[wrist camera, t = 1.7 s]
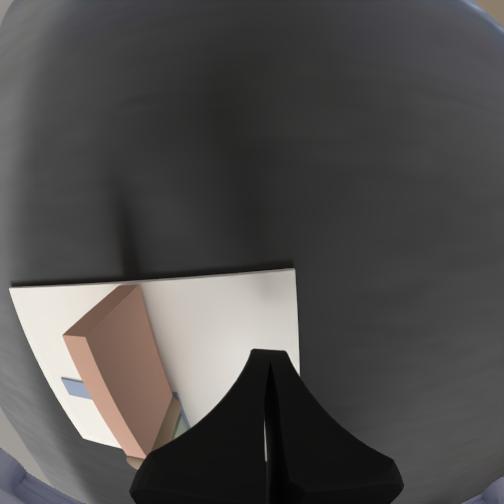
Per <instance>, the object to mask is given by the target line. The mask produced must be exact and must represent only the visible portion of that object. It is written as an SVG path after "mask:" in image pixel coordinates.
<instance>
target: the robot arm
mask: <svg viewBox="0 0 504 504" xmlns="http://www.w3.org/2000/svg"><path fill="white" fill-rule="evenodd" d="M264 421H265V434H264ZM265 435H266V449H267V470H266V463H265ZM403 487H404V484H403V481H402V477H401V475H400V472H399V470H398V468H397V466H396V464H395V462H394V460H393V459H391V458H389V457H387V456H385V455H383V454H382V453H380V452H378V451H376V450H374V449H372V448H370V447H369V446H367V445H366V444H364V443H363V442H361V441H360V440H358V439H357V438H355V437H354V436H353V435H351V434H350V433H349V432H348V431H346V430H345V429H344V428H343V427H342V426H340V425H339V424H338V423H337V422H336V421H335V420H334V419H333V418H332V417H331V416H330V415H329V414H328V413H327V412H326V411H325V410H324V409H323V408H322V406H321V405H320V404H319V403H318V402H317V401H316V399H315V398H314V397H313V395H312V394H311V393H310V391H309V390H308V388H307V387H306V386H305V384H304V382H303V381H302V379H301V378H300V376H299V375H298V373H297V371H296V369H295V368H294V366H293V364H292V362H291V360H290V358H289V355H288V353H287V352H286V351H285V350H269V349H255V348H254V349H252V350H251V351H250V355H249V358H248V360H247V362H246V364H245V366H244V368H243V370H242V372H241V373H240V375H239V376H238V378H237V380H236V381H235V383H234V384H233V385H232V387H231V388H230V389H229V391H228V392H227V393H226V395H225V396H224V397H223V398H222V399H221V400H220V402H219V403H218V404H217V405H216V406H215V407H214V408H213V409H212V410H211V411H210V412H209V413H208V414H207V415H206V416H204V417H203V418H202V419H201V420H200V421H199V422H198V423H196V424H195V425H194V426H193V427H191V428H190V429H188V430H187V431H186V432H184V433H183V434H181V435H180V436H178V437H177V438H175V439H174V440H172V441H170V442H169V443H167V444H165V445H163V446H161V447H159V448H157V449H155V450H154V451H152V452H150V453H149V454H148V455H147V457H146V458H145V459H144V461H143V462H142V464H141V466H140V467H139V469H138V471H137V472H136V475H135V477H134V480H133V482H132V485H131V488H130V491H129V492H130V495H131V497H132V498H133V500H134V501H135V503H136V504H390V503H391V502H392V501H393V500H394V499H395V498H396V497H397V496H398V495H399V494H400V493H401V491H402V490H403ZM0 504H85V503H82V502H80V501H78V500H76V499H74V498H72V497H70V496H68V495H66V494H64V493H62V492H60V491H58V490H56V489H55V488H53V487H51V486H49V485H47V484H46V483H44V482H42V481H41V480H39V479H37V478H36V477H34V476H32V475H31V474H29V473H28V472H26V470H25V469H24V467H23V466H22V465H21V464H20V463H19V462H18V461H17V460H16V459H15V458H14V457H12V456H11V455H10V454H8V453H7V452H5V451H4V450H3V449H1V448H0ZM461 504H504V476H503V477H501V478H499V479H498V480H496V481H495V482H493V483H492V484H491V485H490V486H488V487H487V488H486V489H485V490H484V491H483V493H481V494H480V495H478V496H476V497H474V498H472V499H470V500H468V501H466V502H463V503H461Z"/></svg>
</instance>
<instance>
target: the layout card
mask: <svg viewBox="0 0 504 504" xmlns="http://www.w3.org/2000/svg"><path fill="white" fill-rule="evenodd" d="M137 284H139V287H140V291H141V295H142V299H143V302H144V306H145V310H146V314H147V317H148V321H149V324H150V328H151V331H152V335H153V338H154V341H155V344H156V348H157V351H158V354H159V357H160V360H161V363H162V366H163V369H164V372H165V375H166V378H167V381H168V383H169V386H170V389H171V392H172V394H173V397H174V398H176V399H177V400H178V401H179V402H180V404H181V411H180V414H179V415H182V417H183V419H184V422H185V424H186V427H187V429H190V428H191V427H193V426H194V425H195V424H196V423H198V422H199V421H200V420H201V419H202V418H203V417H204V416H206V415H207V414H208V413H209V412H210V411H211V410H212V409H213V408H214V407H215V406H216V405H217V404H218V403H219V402H220V400H221V399H222V398H223V397H224V396H225V395H226V393H227V392H228V391H229V389H230V388H231V387H232V385H233V384H234V383H235V381H236V380H237V378H238V376H239V375H240V373H241V372H242V370H243V368H244V366H245V364H246V362H247V360H248V358H249V355H250V351H251V350H252V349H254V348H255V349H269V350H285V351H286V352H287V353H288V355H289V358H290V360H291V362H292V364H293V366H294V368H295V369H296V371H297V373H298V375H299V376H300V367H299V337H298V315H297V296H296V279H295V268H288V269H277V270H266V271H254V272H243V273H231V274H218V275H206V276H193V277H179V278H165V279H151V280H136V281H120V282H103V283H85V284H66V285H45V286H21V287H10V288H9V290H10V293H11V297H12V300H13V303H14V305H15V308H16V311H17V314H18V317H19V319H20V322H21V324H22V327H23V329H24V332H25V334H26V337H27V339H28V341H29V344H30V346H31V348H32V350H33V353H34V355H35V357H36V359H37V361H38V363H39V365H40V367H41V369H42V371H43V373H44V375H45V377H46V379H47V381H48V383H49V384H50V386H51V388H52V390H53V392H54V393H55V395H56V397H57V399H58V400H59V402H60V404H61V405H62V407H63V409H64V410H65V412H66V413H67V415H68V416H69V418H70V420H71V421H72V423H73V424H74V426H75V427H76V429H77V430H78V431H79V433H80V434H81V436H82V437H83V438H84V439H88V440H91V441H95V442H98V443H102V444H106V445H110V446H114V447H119V448H122V447H121V446H120V444H119V443H118V442H117V440H116V438H115V437H114V435H113V434H112V432H111V431H110V429H109V428H108V426H107V424H106V423H105V421H104V419H103V418H102V416H101V414H100V413H99V411H98V409H97V407H96V406H95V404H94V402H93V400H92V398H91V396H90V395H89V393H88V391H87V389H86V387H85V385H84V383H83V381H82V379H81V377H80V375H79V373H78V371H77V369H76V367H75V364H74V362H73V360H72V358H71V356H70V353H69V351H68V349H67V346H66V344H65V341H64V339H63V337H62V335H63V334H64V333H65V332H66V331H67V330H68V329H69V328H70V327H71V326H73V325H74V324H75V323H76V322H77V321H78V320H79V319H80V318H82V317H83V316H84V315H85V314H86V313H87V312H88V311H89V310H91V309H92V308H93V307H94V306H95V305H96V304H98V303H99V302H100V301H101V300H102V299H103V298H105V297H106V296H107V295H108V294H109V293H110V292H112V291H113V290H114V289H115V288H116V287H118V286H119V285H137ZM264 434H265V421H264ZM265 461H267V449H266V435H265Z"/></svg>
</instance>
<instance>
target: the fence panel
mask: <svg viewBox="0 0 504 504" xmlns="http://www.w3.org/2000/svg"><path fill="white" fill-rule="evenodd" d="M62 337H63V339H64V341H65V344H66V346H67V349H68V351H69V353H70V356H71V358H72V360H73V362H74V364H75V367H76V369H77V371H78V373H79V375H80V377H81V379H82V381H83V383H84V385H85V387H86V389H87V391H88V393H89V395H90V396H91V398H92V400H93V402H94V404H95V406H96V407H97V409H98V411H99V413H100V414H101V416H102V418H103V419H104V421H105V423H106V424H107V426H108V428H109V429H110V431H111V432H112V434H113V435H114V437H115V438H116V440H117V442H118V443H119V444H120V446H121V447H122V449H123V450H124V452H125V453H126V455H128V456H127V462H128V463H129V464H130V465H131V466H132V467H134V468H135V469H137V470H138V469H139V467H140V466H141V464H142V462H143V461H144V459H145V458H146V457H147V455H148V454H149V453H150V452H152V451H154V450H155V449H157V448H159V447H161V446H163V445H165V444H167V443H169V442H170V440H171V437H172V434H173V431H174V428H175V425H176V422H177V420H178V417H179V414H180V411H181V404H180V402H179V401H178V400H177V399H176V398H174V397H173V394H172V392H171V389H170V386H169V383H168V381H167V378H166V375H165V372H164V369H163V366H162V363H161V360H160V357H159V354H158V351H157V348H156V344H155V341H154V338H153V335H152V331H151V328H150V324H149V321H148V317H147V314H146V310H145V306H144V302H143V299H142V295H141V291H140V287H139V284H137V285H119V286H118V287H116V288H115V289H114V290H113V291H112V292H110V293H109V294H108V295H107V296H106V297H105V298H103V299H102V300H101V301H100V302H99V303H98V304H96V305H95V306H94V307H93V308H92V309H91V310H89V311H88V312H87V313H86V314H85V315H84V316H83V317H82V318H80V319H79V320H78V321H77V322H76V323H75V324H74V325H73V326H71V327H70V328H69V329H68V330H67V331H66V332H65V333H64V334H63V335H62Z"/></svg>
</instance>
